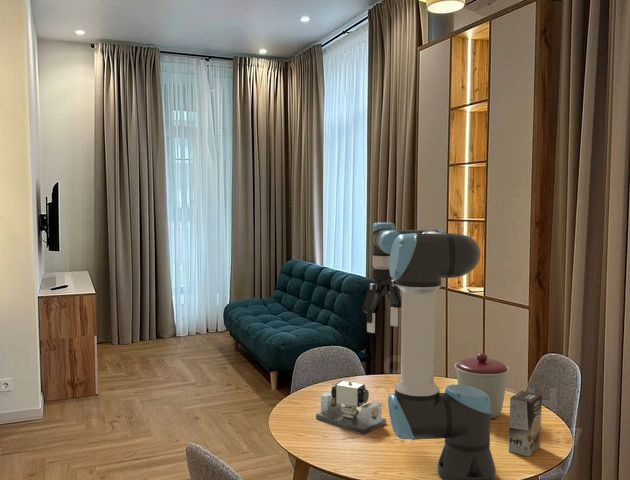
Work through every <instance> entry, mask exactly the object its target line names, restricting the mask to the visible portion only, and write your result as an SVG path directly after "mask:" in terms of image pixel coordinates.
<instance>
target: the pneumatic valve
mask: <svg viewBox="0 0 630 480" xmlns="http://www.w3.org/2000/svg"><path fill="white" fill-rule="evenodd" d="M330 391H331V395H332V397H333V398H334V400H335V403H339V404H341V405H343V406H345V407H342V410H341V413H342V414H343V415H342V416H343V417H346V418H350V419H353V418H354V417H356V416H358V411H359V410H358V408H361V406H363V405H365V404H368V400H369V397H370V393H369V390H368V389H367V387H366V384H362V383H357V382H353V381H352V380H348V381H346V380H340V381H338V382H337V383H334V384H333V385H332V388H331V390H330Z"/></svg>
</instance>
